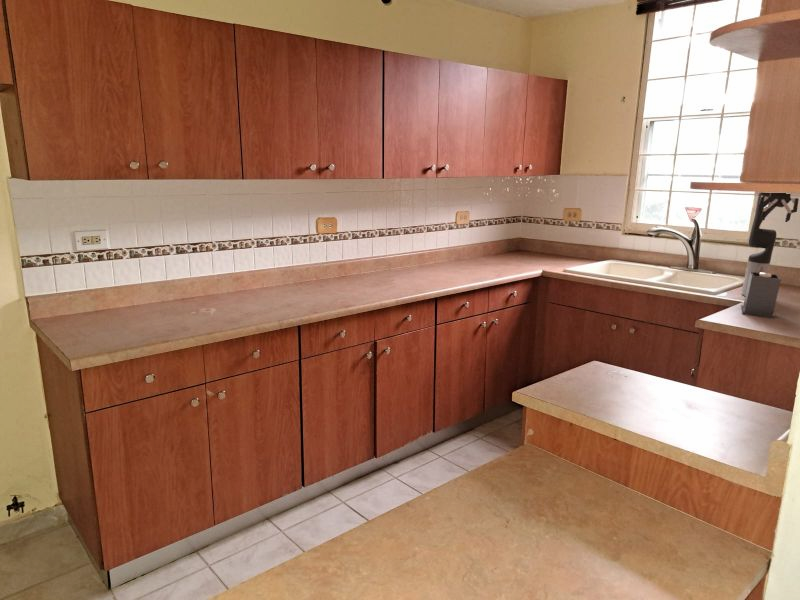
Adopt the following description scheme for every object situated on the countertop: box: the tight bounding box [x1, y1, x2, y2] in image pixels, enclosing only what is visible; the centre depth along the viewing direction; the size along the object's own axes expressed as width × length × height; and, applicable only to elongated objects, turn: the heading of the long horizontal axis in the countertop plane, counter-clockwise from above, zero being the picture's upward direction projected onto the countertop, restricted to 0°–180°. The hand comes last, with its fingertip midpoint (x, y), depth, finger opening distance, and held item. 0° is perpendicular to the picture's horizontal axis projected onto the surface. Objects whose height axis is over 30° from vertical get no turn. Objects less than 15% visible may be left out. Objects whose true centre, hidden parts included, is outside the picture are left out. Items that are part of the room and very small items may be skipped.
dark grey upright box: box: [740, 272, 782, 319], centre depth 254 cm, size 12×12×17 cm
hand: (774, 220), depth 252 cm, fingers open, 8 cm apart
